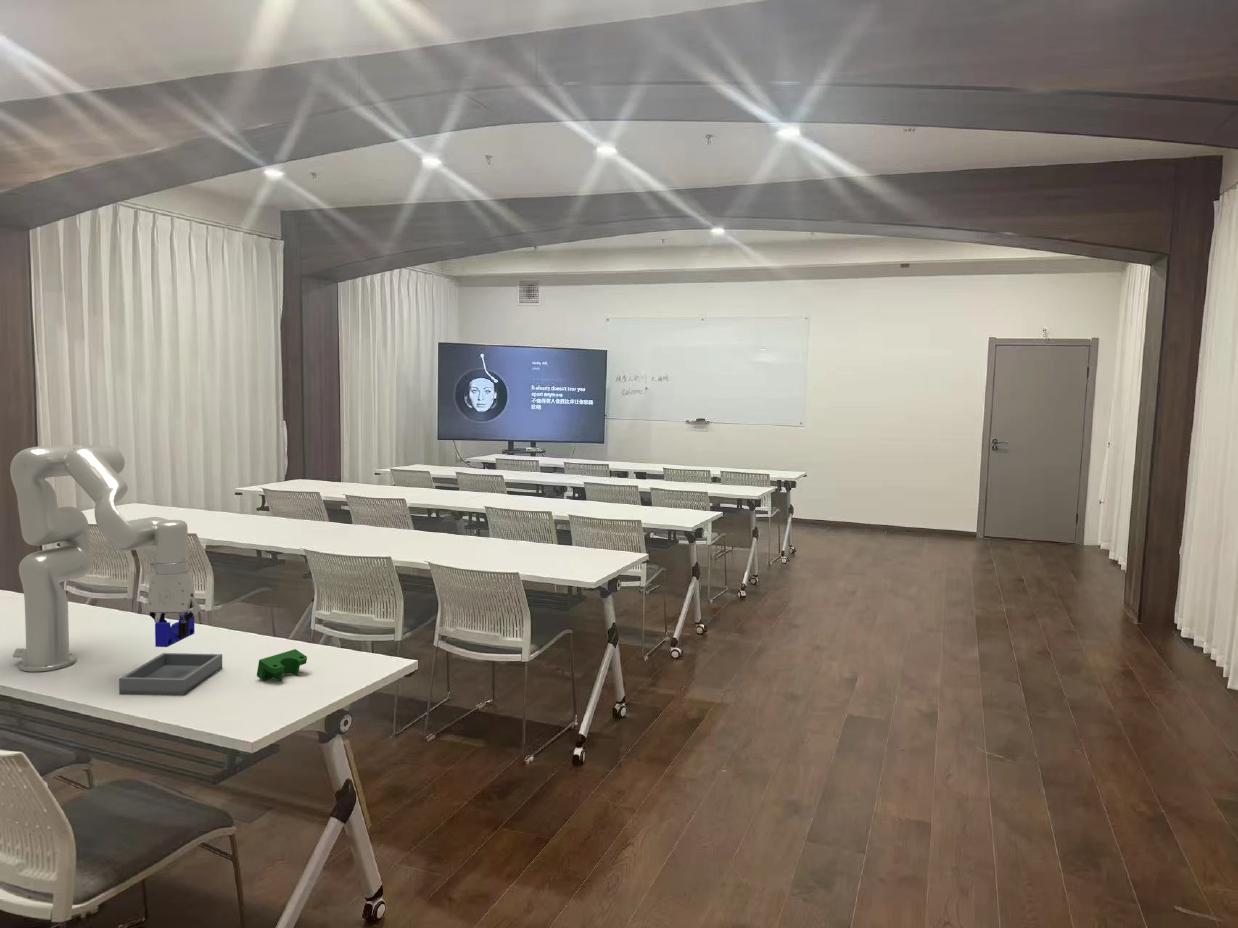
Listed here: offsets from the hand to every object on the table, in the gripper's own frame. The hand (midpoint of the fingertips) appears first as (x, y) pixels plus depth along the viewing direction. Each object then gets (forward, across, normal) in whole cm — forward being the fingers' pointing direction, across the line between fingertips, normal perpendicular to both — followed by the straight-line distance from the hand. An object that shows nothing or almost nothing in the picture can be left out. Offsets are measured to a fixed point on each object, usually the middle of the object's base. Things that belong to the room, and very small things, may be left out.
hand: (172, 636), depth 206 cm
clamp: (+12, +26, +5) cm, 30 cm away
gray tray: (+12, 0, 0) cm, 12 cm away
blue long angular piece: (+1, 0, 0) cm, 1 cm away
